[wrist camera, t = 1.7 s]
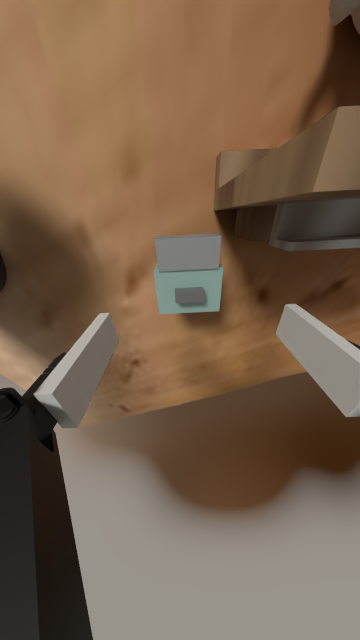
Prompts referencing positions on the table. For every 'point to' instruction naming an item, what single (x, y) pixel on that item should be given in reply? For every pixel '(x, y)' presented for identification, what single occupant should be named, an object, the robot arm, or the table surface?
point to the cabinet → (188, 273)
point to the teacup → (345, 11)
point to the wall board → (298, 187)
